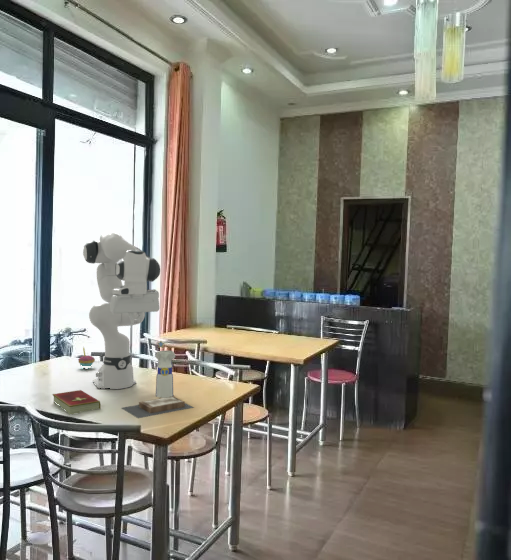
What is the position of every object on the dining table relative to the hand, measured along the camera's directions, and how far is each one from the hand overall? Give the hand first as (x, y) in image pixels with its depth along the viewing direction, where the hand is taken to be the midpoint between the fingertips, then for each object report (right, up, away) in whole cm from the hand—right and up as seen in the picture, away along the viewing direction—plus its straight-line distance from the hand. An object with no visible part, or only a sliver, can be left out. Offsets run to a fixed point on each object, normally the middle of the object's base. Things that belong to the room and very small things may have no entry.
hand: (135, 323), depth 197 cm
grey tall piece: (+10, -33, +14) cm, 37 cm away
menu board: (+6, -32, -8) cm, 34 cm away
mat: (+10, -33, -5) cm, 35 cm away
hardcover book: (-23, -34, -3) cm, 41 cm away
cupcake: (-43, -31, +67) cm, 86 cm away
